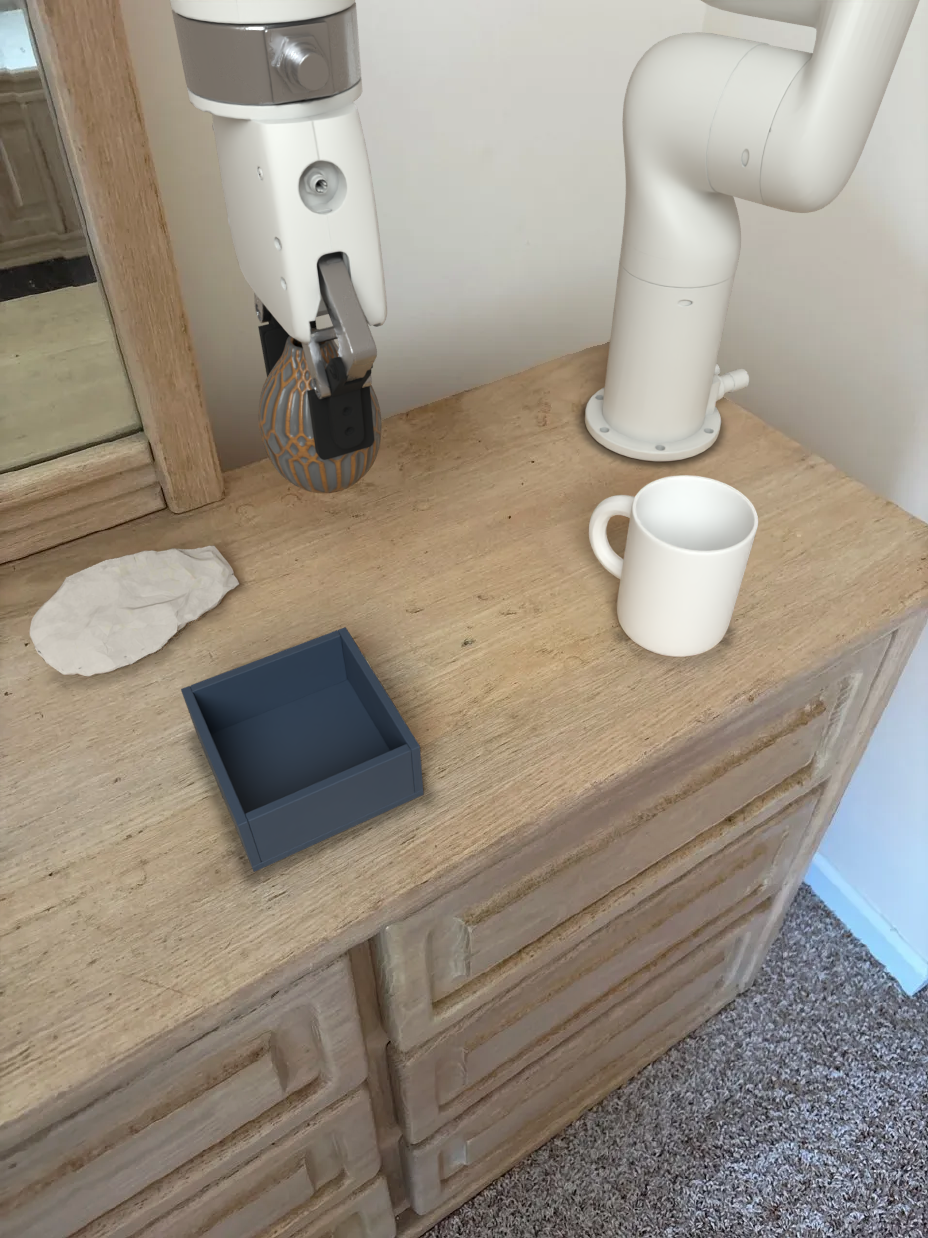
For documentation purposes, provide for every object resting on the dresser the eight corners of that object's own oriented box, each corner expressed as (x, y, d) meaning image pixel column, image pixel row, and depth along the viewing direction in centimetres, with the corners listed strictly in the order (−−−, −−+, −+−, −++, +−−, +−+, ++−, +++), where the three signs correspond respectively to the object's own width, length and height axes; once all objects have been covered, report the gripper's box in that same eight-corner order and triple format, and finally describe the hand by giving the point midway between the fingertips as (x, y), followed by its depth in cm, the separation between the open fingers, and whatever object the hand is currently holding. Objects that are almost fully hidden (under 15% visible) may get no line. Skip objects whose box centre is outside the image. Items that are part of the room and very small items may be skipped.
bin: (353, 676, 64) (345, 626, 60) (423, 795, 57) (420, 746, 53) (198, 738, 60) (180, 688, 56) (253, 872, 53) (237, 826, 49)
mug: (553, 601, 69) (562, 493, 62) (615, 547, 73) (631, 440, 66) (689, 679, 63) (717, 571, 56) (748, 616, 68) (781, 507, 60)
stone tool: (70, 711, 64) (257, 616, 70) (61, 694, 61) (257, 596, 67) (16, 616, 66) (202, 532, 72) (5, 596, 63) (199, 509, 69)
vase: (286, 522, 51) (260, 383, 45) (257, 456, 55) (230, 322, 49) (401, 492, 53) (392, 355, 46) (364, 431, 57) (351, 298, 51)
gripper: (441, 97, 34) (448, 479, 47) (285, 4, 45) (325, 335, 58) (251, 127, 32) (313, 521, 45) (135, 22, 43) (210, 363, 55)
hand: (319, 414), depth 51 cm, fingers closed on vase, 6 cm apart
